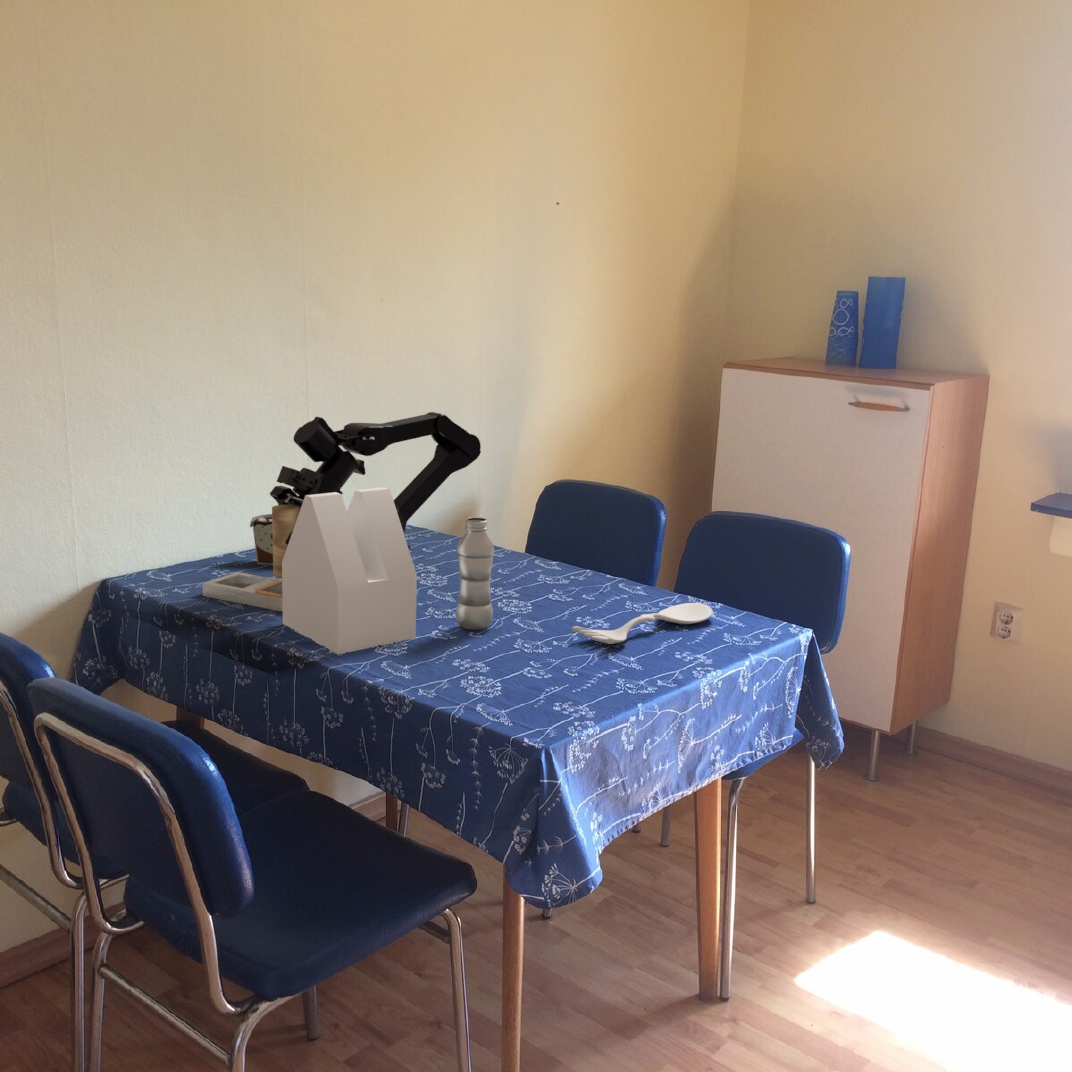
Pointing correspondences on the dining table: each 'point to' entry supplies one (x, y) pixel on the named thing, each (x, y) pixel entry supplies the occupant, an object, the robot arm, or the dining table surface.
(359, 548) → the white notched block
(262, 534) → the food container
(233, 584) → the compartment tray
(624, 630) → the spoon
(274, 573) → the wooden peg
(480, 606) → the plastic bottle
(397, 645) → the dining table surface
